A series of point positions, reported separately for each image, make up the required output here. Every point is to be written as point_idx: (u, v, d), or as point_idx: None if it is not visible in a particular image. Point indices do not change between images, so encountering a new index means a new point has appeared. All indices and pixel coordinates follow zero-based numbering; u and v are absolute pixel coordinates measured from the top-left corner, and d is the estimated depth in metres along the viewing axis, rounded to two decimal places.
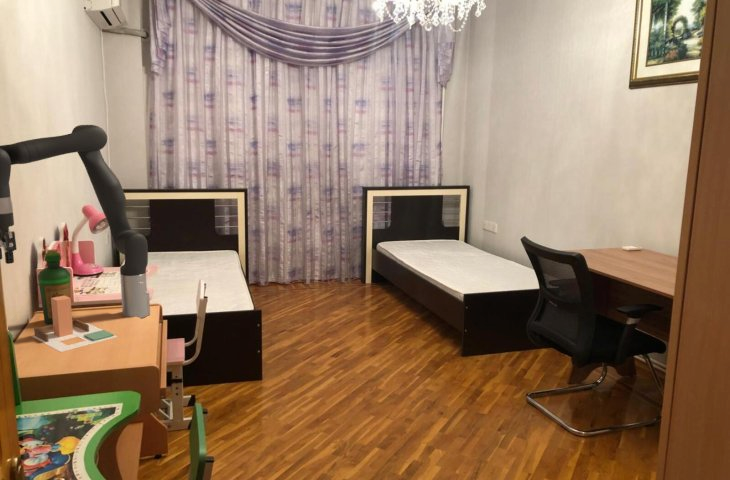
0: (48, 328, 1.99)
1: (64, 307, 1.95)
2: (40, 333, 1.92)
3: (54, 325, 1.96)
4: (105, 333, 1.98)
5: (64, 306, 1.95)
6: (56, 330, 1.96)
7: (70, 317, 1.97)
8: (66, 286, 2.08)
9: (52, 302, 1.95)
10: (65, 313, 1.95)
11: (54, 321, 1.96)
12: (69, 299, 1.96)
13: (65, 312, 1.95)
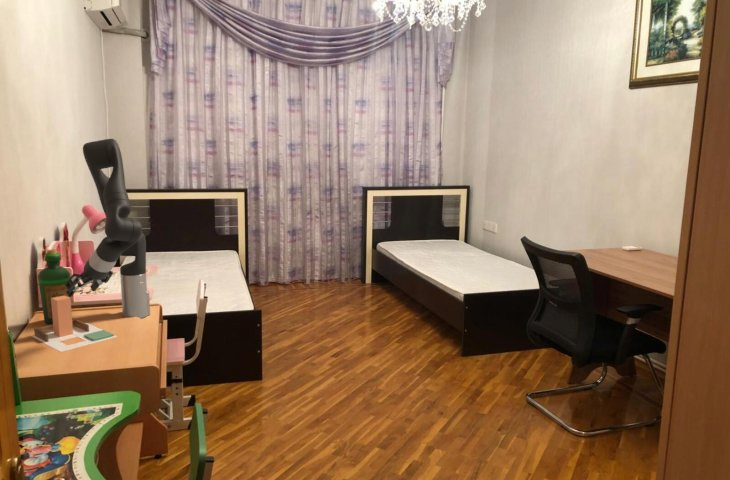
0: (48, 328, 1.99)
1: (64, 307, 1.95)
2: (40, 333, 1.92)
3: (54, 325, 1.96)
4: (105, 333, 1.98)
5: (64, 306, 1.95)
6: (56, 330, 1.96)
7: (70, 317, 1.97)
8: None
9: (52, 302, 1.95)
10: (65, 313, 1.95)
11: (54, 321, 1.96)
12: (69, 299, 1.96)
13: (65, 312, 1.95)
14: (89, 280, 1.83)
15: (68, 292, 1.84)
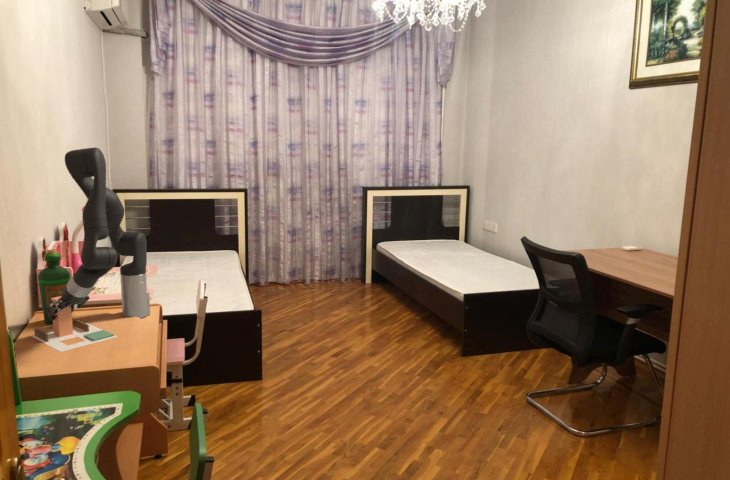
0: (48, 328, 1.99)
1: None
2: (40, 333, 1.92)
3: (54, 325, 1.96)
4: (105, 333, 1.98)
5: None
6: (56, 330, 1.96)
7: (70, 317, 1.97)
8: None
9: None
10: (65, 313, 1.95)
11: (54, 321, 1.96)
12: None
13: (65, 312, 1.95)
14: (67, 305, 1.91)
15: (50, 316, 1.93)
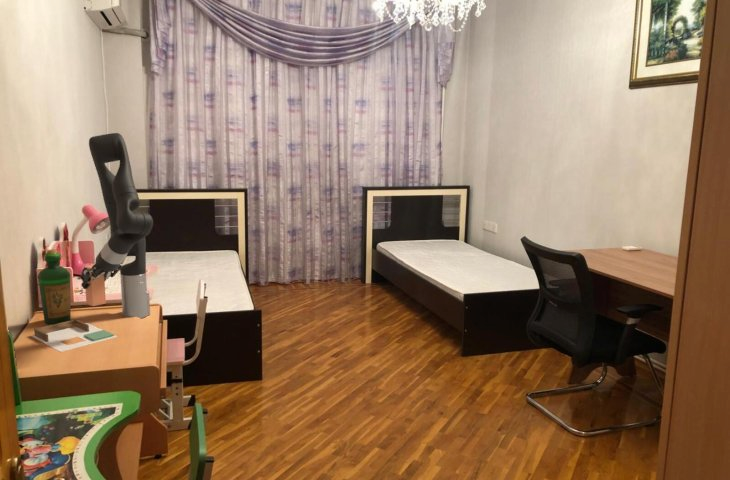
0: (48, 328, 1.99)
1: None
2: (40, 333, 1.92)
3: (87, 294, 1.93)
4: (105, 333, 1.98)
5: None
6: (89, 299, 1.92)
7: (103, 286, 1.93)
8: (66, 286, 2.08)
9: None
10: (98, 281, 1.92)
11: (87, 290, 1.92)
12: None
13: (98, 280, 1.92)
14: (100, 272, 1.88)
15: (83, 284, 1.90)
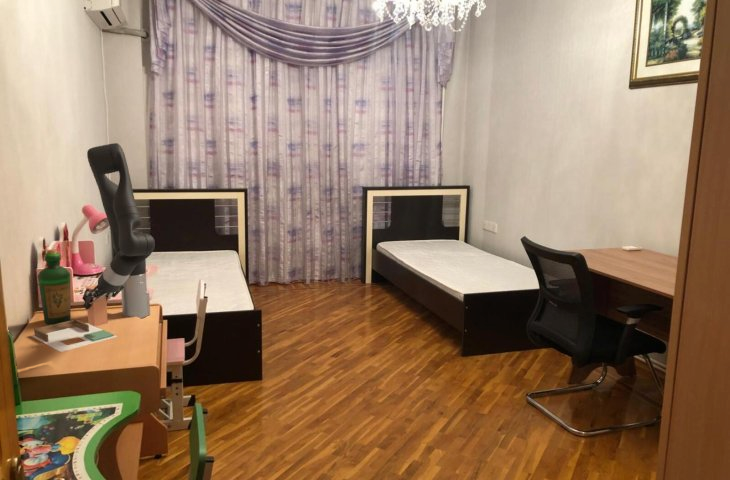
0: (48, 328, 1.99)
1: None
2: (40, 333, 1.92)
3: (89, 315, 1.94)
4: (105, 333, 1.98)
5: None
6: (91, 320, 1.93)
7: (105, 306, 1.94)
8: (66, 286, 2.08)
9: None
10: (100, 302, 1.93)
11: (89, 310, 1.93)
12: None
13: (100, 301, 1.93)
14: (102, 293, 1.89)
15: (85, 305, 1.91)
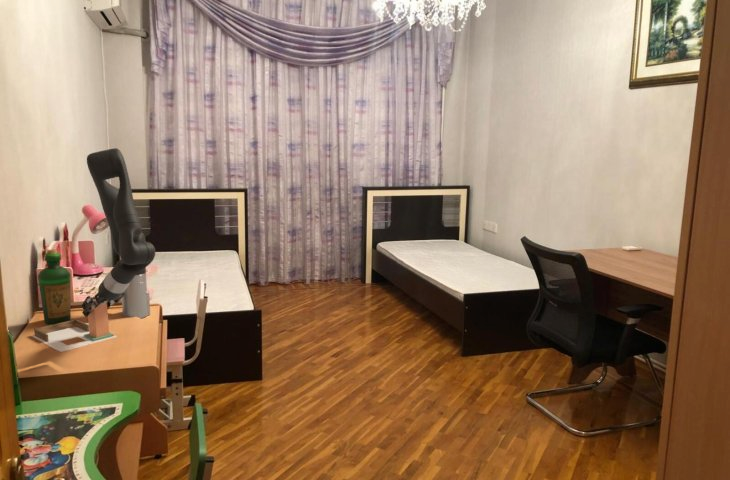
0: (48, 328, 1.99)
1: (100, 307, 1.93)
2: (40, 333, 1.92)
3: (90, 326, 1.95)
4: None
5: (101, 306, 1.93)
6: (93, 331, 1.94)
7: (106, 317, 1.95)
8: (66, 286, 2.08)
9: None
10: (101, 313, 1.94)
11: (90, 322, 1.94)
12: None
13: (101, 312, 1.94)
14: (103, 301, 1.90)
15: (84, 312, 1.91)
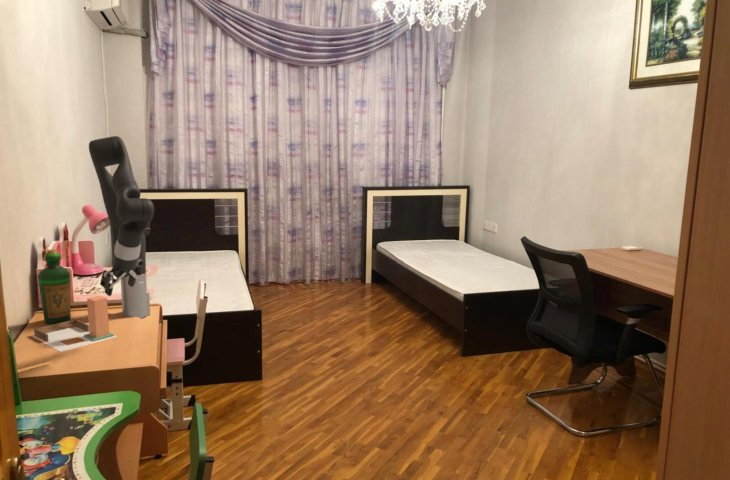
0: (48, 328, 1.99)
1: (101, 307, 1.93)
2: (40, 333, 1.92)
3: (90, 326, 1.95)
4: None
5: (101, 306, 1.93)
6: (93, 331, 1.94)
7: (106, 317, 1.96)
8: (66, 286, 2.08)
9: (88, 302, 1.93)
10: (102, 313, 1.94)
11: (90, 322, 1.94)
12: (106, 299, 1.94)
13: (102, 312, 1.94)
14: (121, 273, 1.82)
15: (106, 291, 1.83)
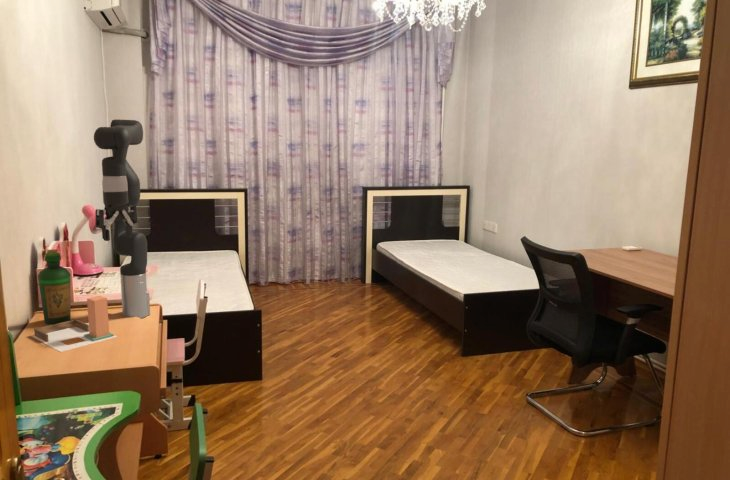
0: (48, 328, 1.99)
1: (101, 307, 1.93)
2: (40, 333, 1.92)
3: (90, 326, 1.95)
4: None
5: (101, 306, 1.93)
6: (93, 331, 1.94)
7: (106, 317, 1.96)
8: (66, 286, 2.08)
9: (88, 302, 1.93)
10: (102, 313, 1.94)
11: (90, 322, 1.94)
12: (106, 299, 1.94)
13: (102, 312, 1.94)
14: (114, 212, 1.84)
15: (103, 235, 1.83)
